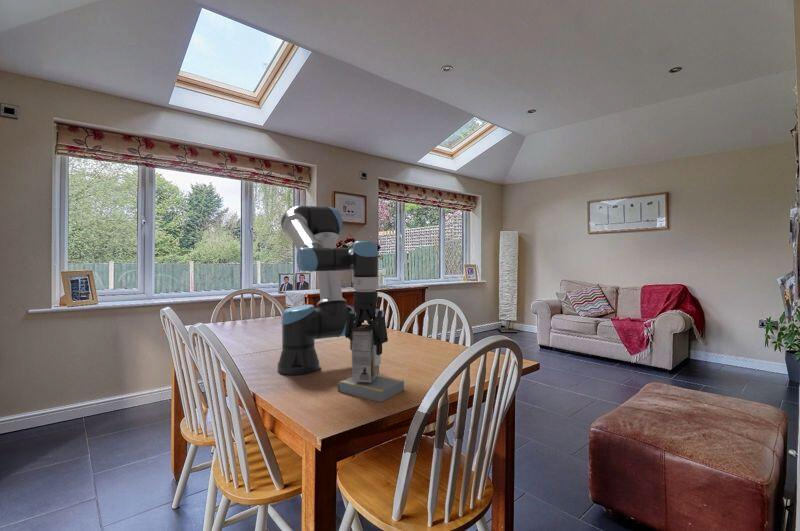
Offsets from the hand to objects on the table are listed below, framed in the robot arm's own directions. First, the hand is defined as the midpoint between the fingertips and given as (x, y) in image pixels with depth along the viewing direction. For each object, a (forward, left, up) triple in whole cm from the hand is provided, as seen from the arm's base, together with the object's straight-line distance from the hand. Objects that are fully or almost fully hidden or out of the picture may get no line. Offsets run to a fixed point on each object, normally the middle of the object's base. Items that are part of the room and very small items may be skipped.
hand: (365, 362), depth 120 cm
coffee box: (0, 0, -5) cm, 5 cm away
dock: (+2, 0, -9) cm, 9 cm away
